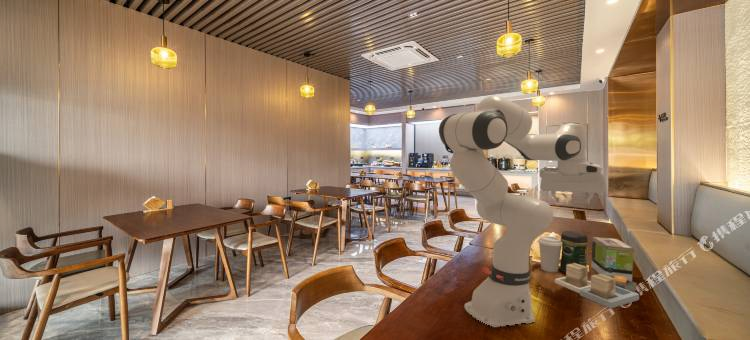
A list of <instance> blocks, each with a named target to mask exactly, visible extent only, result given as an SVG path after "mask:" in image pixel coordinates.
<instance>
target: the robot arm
mask: <svg viewBox="0 0 750 340" xmlns="http://www.w3.org/2000/svg"><path fill="white" fill-rule="evenodd" d="M532 127H533V117H532V115H531V113H530V112H529V111H528V110H527V109H526V108H524V107H523V106H521V105H519V104H517V102H516V103H515V102H513V101H511V100H509V99H506V98H504V97H501V96H498V95H497V96H496V95H489V96H487V97H485V98H483V99H482V100H480V102H479V103H478V104H477V107H476V109H475V111H467V112H459V113H453V114H450V115H448V116H446V117H445V118H443V120H441V122H440V123H439V127H438V133H439V134H438V135H439V138H440V141H441V143H442V144H443V145H444V148H445V150H446V152H448V153H450V154H452V157H451V159H450V161H449V168H450V170H451V172H452V174H453V175H454V177H455V179H456V180H457V181H458V182H459V183H460V185H461V186H462V187H463V188H464V189H465V190H466V191H467V192H468V193H469V194H470V195H471V196H472V197H473V198H474V199H475V200H476V201H477V202H476V211H477V214H478V216H479V217H480V218H482V219H483V220H485V221H487V222H489V223H492V224H493V225H494V224H496V225H499V226H504V227H506V233H505V235H504V236H502V237H500V238H498V239H497V240H495V242H494V243H493V245H492V249H493V250H492V252H493V253H492V255H493V256H492V257H493V258H492V264H491V267H490V268H488V267H487V266H486V267H485V266H484V267H483V269H482V272H483V274H486V275H487V276H488V277H487V278H486V279H484V280H483V281H482V282H481V284H479V285H478V286H476V287H475V289H474V290H473V292H472V296H471V300H470V301H468V302H465V303H464V307H463V308H464V309H465V311H466V312H467V313H468V314H469V315H470V316H471V315H472V316H471V317H472V318H473V319H475V318H476V319H475V320H477V321H478V320H479V321H478V322H480V321H481V322H480V323H482V322H483V323H482V324H484V323H485V324H484V325H486V324H487V325H486V326H488V325H490V326H489V327H491V326H492V328H500V326H501V327H507V326H506V325H509V326H516V325H515V324H518V325H522V324H521V323H526V324H533V323H532V322H534V323H535V322H536V320H535V319H536V318H535V316H534V310H533V301H532V300H533V299H532V293H531V289H530V284H529V283H530V282H531V278H532V277H531V270H530V255H531V254H530V253H531V247H532V244H533V243H534V240H535V239H536V238H537V236H539V235H540V234H542V233H543V232H546V231H547V230H548V229H550V227H551V226H552V224H553V221H554V212H553V208H552V207H551V205H550V204H549V203H548V202H546V201H544V200H541V199H538V198H535V197H532V196H527V195H526V196H525V195H517V194H513V193H510V192H508V190H509V182H508V179H507V178H506V177H505V176H504V175H503V174H502V173H501V171H499V169H497V167H495V165H494V164H493V163H492V162H491V161H490V160H489V159H487V157H486V155H485V152H484V151H488V150H494V149H496V148H498V147H500V146H501V145H503V143H506V144H508V145H510V146H511V147H512V148H514V149H515V150H516V151H518V152H519V154H520V155H521V156H522V158H523V159H524V160H526V161H554V162H556V161H557V166H551V167H550V166H544V167H542V168H541V169H540V170H539V177H540V179H541V180H540V190H541V191H543V192H550V194H551V196H552V198H554V204H555V203H556V204H557V203H558V204H560V197H558V196H557V195H556V193H557V192H561V193H562V192H564V193H565V192H567V193H588V197H587V198H584V205H590V203H591V202H590V201H591V200H592V198H593V197H594V195H595V193H596V194H604V193H605V192H606V191H607V184H606V178H605V175H604V173H602V166H601V165H600V164H598V163H593V162H589V161H587V156H586V148H587V133H586V129H585V125H584V124H582V123H579V122H563V123H561V124H559V126H558V130H556V131H555V132H553V133H545V134H544V133H543V134H541V133H540V134H534V133H533V134H531V133H530V131H531V130H532ZM529 133H530V134H529Z"/></svg>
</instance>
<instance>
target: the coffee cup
mask: <svg viewBox="0 0 750 340" xmlns="http://www.w3.org/2000/svg"><path fill="white" fill-rule="evenodd" d="M537 243H539V244H538V245H539V257H540V258H539V259H540V269H541V270H543V272H548V273H557V272H559V269H560V261H561V254H562V245H563V243H562V242H561V238H559V237H555V236H550V235H542V236H540V237H539V238H538V241H537Z"/></svg>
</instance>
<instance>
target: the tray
mask: <svg viewBox="0 0 750 340" xmlns="http://www.w3.org/2000/svg"><path fill="white" fill-rule="evenodd" d="M554 284H557V285H559V286H562V287H564V288H565V289H568V290H570V291H573V292H575V293H578V294H580V290H582V289H586V288H590V287H591V280H589V279H587V286H585V287H581V288H578V287H576V286H573V285H571V284H568V283H566V276H562V277H558V278H554Z"/></svg>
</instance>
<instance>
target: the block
mask: <svg viewBox="0 0 750 340" xmlns="http://www.w3.org/2000/svg"><path fill="white" fill-rule="evenodd" d="M588 271H589V267H588V266H587V267H585V266H582V265H579V264H576V263H573V264H568V265H566V273H565V277H566V283H568V284H571V285H573V286H576V287H578V288H581V287H585V286H588V285H587V280H588V278H589V277H588Z"/></svg>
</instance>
